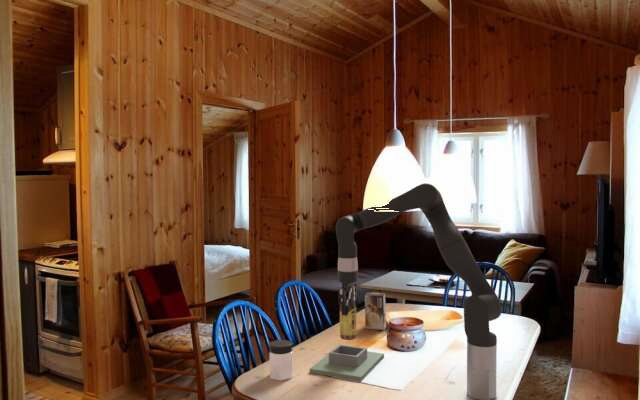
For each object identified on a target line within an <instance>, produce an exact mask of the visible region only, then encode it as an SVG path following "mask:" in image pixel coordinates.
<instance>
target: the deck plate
mask: <svg viewBox="0 0 640 400" xmlns="http://www.w3.org/2000/svg"><path fill="white" fill-rule="evenodd" d="M384 358H385V353H381V352H375V351H368V348H367V347H360V346H353V345H346V344H338V345H337V346H336V347H334V348H333V349H332V350H330V351H329V352H328V353H327V354H326V356H324V357H323V358H322V359H320V360H319V361H318V362H316V363H315V364H314V365H313V366H311V367H310V368H309V373H310V374H316V375H321V376H328V377H333V378H340V379H345V380H350V381H351V380H352V381H359V382H362V381H363V380H364V379H365V377H367V376H368V375H369V374H370V373H371V372H372V370H373V369H374V368H376V366H377V365H379V363H380V362H381V361H383V359H384Z"/></svg>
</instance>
